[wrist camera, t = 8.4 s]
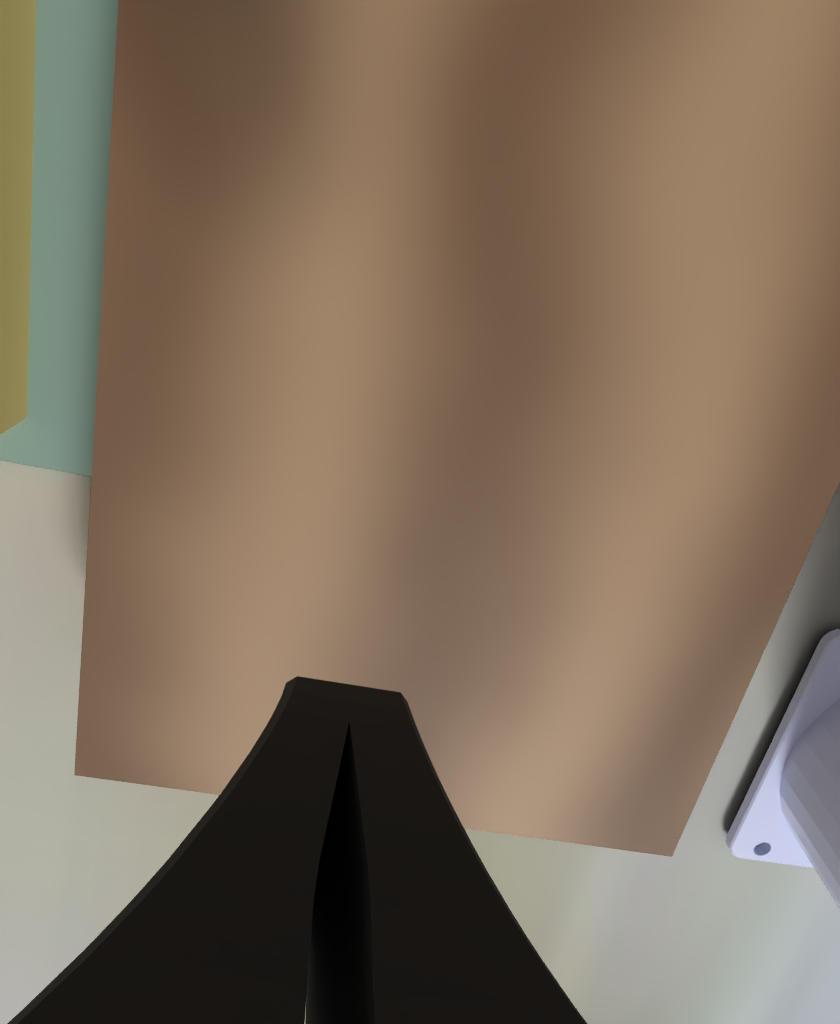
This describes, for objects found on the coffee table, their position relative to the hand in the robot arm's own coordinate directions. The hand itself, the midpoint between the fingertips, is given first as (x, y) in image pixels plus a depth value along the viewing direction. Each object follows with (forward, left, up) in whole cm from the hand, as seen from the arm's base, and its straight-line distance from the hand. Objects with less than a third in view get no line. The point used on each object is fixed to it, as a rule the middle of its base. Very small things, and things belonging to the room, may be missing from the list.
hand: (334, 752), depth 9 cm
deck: (-2, -3, -10) cm, 11 cm away
